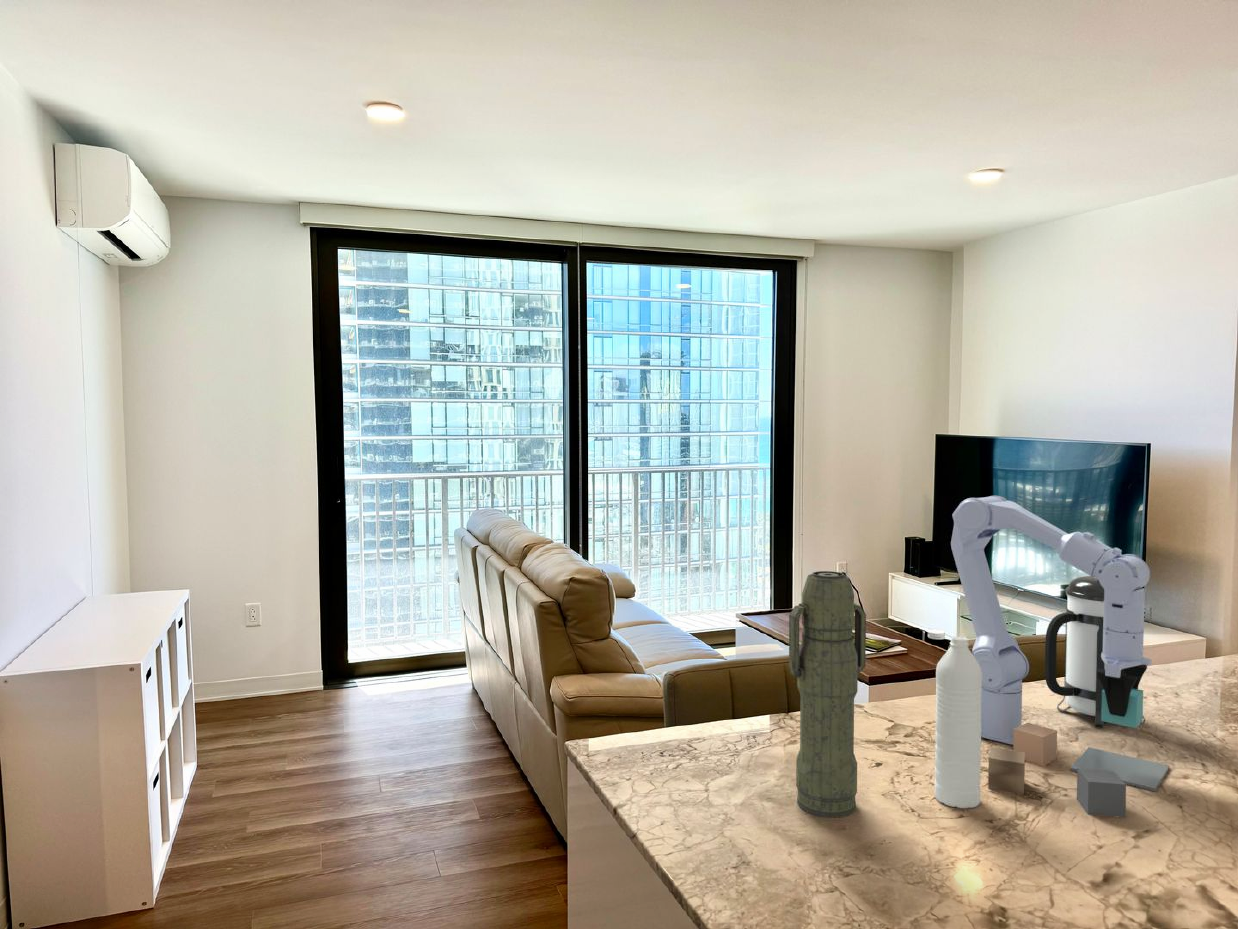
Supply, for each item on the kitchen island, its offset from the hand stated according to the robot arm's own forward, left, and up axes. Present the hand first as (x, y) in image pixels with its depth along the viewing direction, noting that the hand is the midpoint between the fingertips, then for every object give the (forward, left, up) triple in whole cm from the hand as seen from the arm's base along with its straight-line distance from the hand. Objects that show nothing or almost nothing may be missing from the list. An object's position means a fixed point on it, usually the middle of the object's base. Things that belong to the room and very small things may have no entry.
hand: (1121, 710), depth 138 cm
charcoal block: (+1, -18, -10) cm, 21 cm away
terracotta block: (-12, -4, -10) cm, 16 cm away
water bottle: (-17, -29, -10) cm, 35 cm away
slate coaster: (0, 0, -10) cm, 10 cm away
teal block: (0, 0, -2) cm, 2 cm away
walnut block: (-12, -19, -10) cm, 25 cm away
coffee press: (-9, +25, -10) cm, 28 cm away
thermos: (-30, -44, -10) cm, 54 cm away
